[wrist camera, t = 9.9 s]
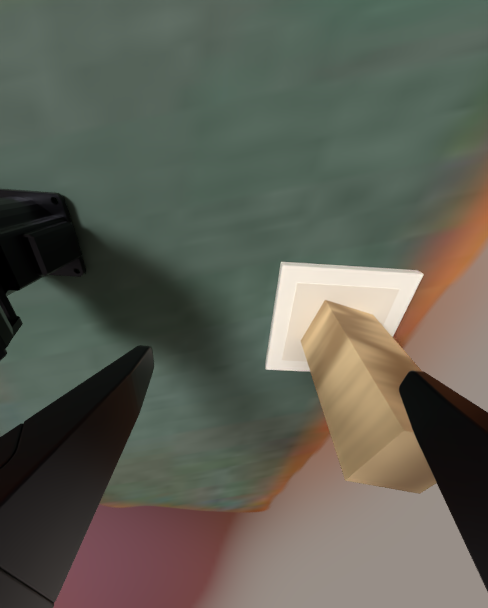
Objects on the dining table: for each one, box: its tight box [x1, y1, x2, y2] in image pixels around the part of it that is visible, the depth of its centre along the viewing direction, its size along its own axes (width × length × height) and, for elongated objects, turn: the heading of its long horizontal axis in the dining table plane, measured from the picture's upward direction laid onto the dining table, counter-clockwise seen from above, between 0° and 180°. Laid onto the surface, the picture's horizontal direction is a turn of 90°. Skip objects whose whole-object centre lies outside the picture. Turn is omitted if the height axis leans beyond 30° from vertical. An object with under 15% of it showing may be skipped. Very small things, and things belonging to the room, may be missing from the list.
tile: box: [265, 262, 424, 371], centre depth 23 cm, size 12×12×1 cm
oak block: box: [301, 300, 437, 493], centre depth 17 cm, size 5×5×12 cm
